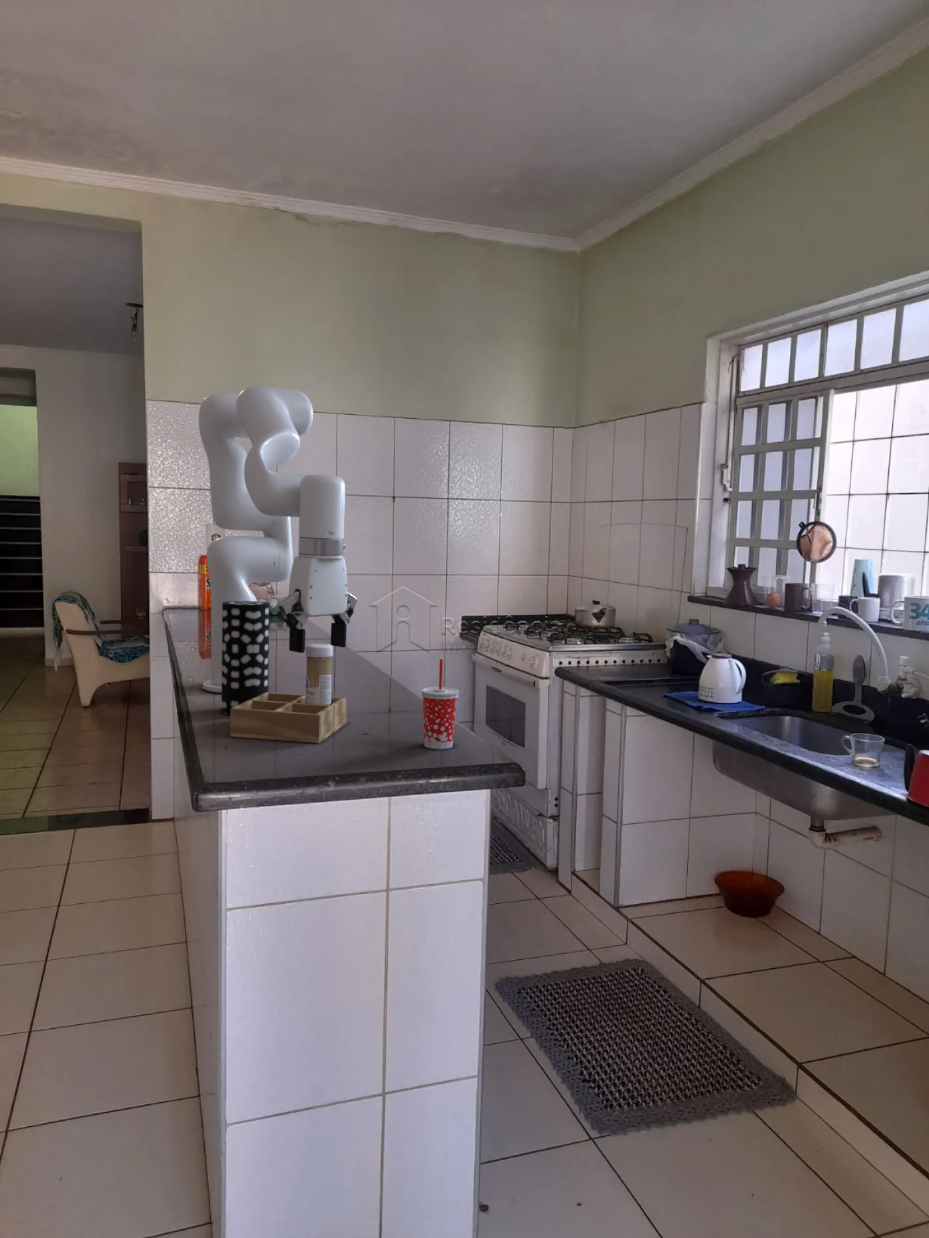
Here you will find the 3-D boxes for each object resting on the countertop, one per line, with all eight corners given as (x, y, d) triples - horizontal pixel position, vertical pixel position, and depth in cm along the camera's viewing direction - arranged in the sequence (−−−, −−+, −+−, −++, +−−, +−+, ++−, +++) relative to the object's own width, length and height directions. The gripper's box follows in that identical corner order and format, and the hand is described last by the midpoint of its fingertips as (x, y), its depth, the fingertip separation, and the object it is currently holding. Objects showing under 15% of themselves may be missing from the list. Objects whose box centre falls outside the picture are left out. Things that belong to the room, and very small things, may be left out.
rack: (265, 717, 155) (266, 692, 154) (346, 723, 152) (347, 697, 152) (230, 736, 140) (230, 708, 139) (318, 743, 138) (319, 715, 137)
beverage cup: (453, 751, 136) (456, 663, 134) (415, 748, 137) (418, 660, 135) (460, 742, 142) (463, 657, 140) (423, 739, 143) (426, 655, 141)
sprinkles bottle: (299, 721, 149) (300, 643, 148) (321, 717, 152) (323, 642, 151) (314, 726, 146) (315, 647, 144) (336, 722, 149) (338, 645, 148)
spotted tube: (256, 717, 154) (257, 605, 152) (213, 714, 156) (213, 603, 154) (275, 708, 162) (276, 602, 160) (234, 705, 164) (235, 600, 162)
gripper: (341, 547, 155) (338, 641, 157) (266, 547, 141) (264, 651, 143) (372, 550, 151) (368, 647, 153) (298, 550, 137) (295, 657, 139)
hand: (318, 648), depth 148 cm, fingers open, 9 cm apart
